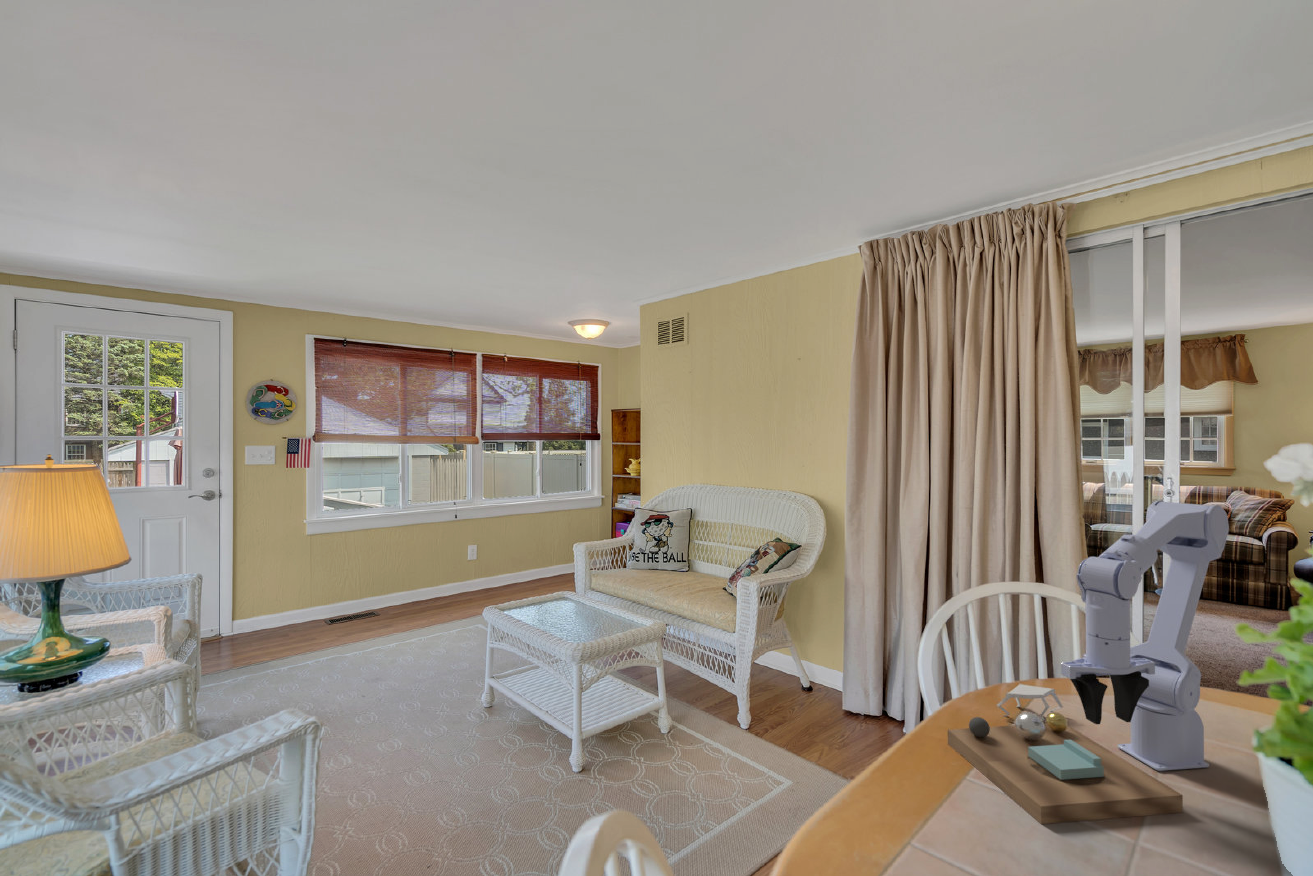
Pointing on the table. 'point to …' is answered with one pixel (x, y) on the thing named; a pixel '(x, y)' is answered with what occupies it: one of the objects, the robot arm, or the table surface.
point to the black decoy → (979, 727)
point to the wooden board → (1069, 798)
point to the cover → (1067, 760)
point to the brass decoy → (1056, 722)
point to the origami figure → (1030, 696)
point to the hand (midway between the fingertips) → (1108, 720)
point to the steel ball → (1030, 726)
